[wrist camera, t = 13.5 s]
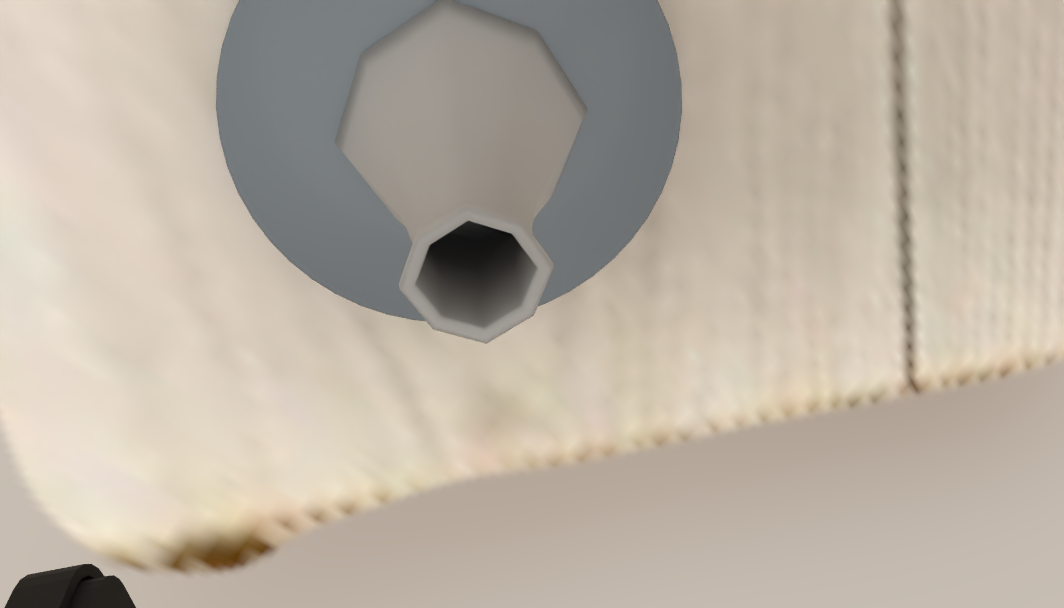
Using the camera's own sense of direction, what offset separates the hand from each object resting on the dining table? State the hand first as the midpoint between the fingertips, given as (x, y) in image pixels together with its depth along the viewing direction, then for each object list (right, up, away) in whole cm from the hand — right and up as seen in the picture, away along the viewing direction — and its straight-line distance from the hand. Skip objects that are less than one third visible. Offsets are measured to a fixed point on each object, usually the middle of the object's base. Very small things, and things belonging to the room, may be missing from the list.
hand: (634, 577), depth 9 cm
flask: (-3, +8, +21) cm, 23 cm away
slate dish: (-3, +9, +22) cm, 24 cm away
